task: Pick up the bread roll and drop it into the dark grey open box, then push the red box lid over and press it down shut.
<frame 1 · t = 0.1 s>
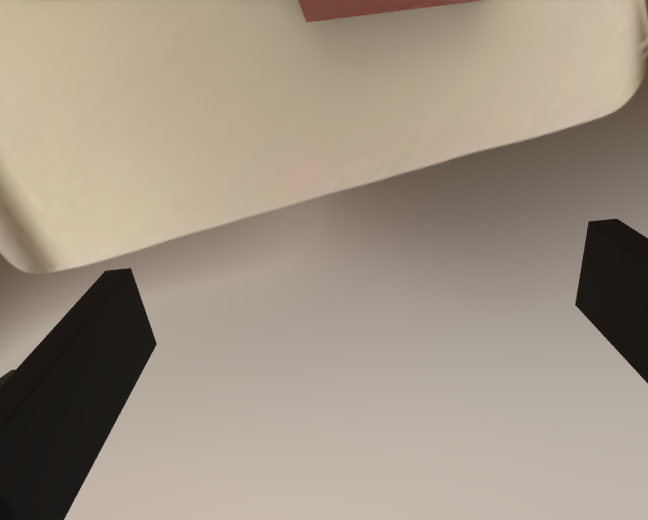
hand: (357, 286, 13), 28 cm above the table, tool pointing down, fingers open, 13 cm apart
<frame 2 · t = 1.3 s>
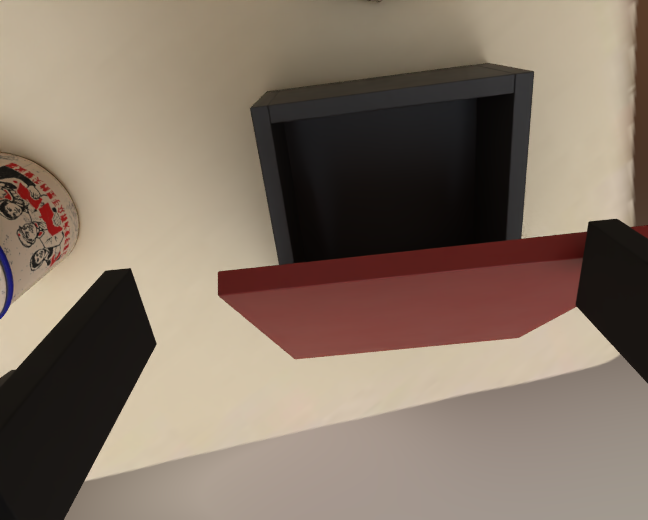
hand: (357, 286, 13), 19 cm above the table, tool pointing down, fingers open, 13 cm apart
teacup with lid: (8, 192, 32), on the table
dark grey open box: (383, 191, 32), on the table
red box lid: (417, 315, 21), point 13 cm above the table, hinge at 44.0°, touching gripper
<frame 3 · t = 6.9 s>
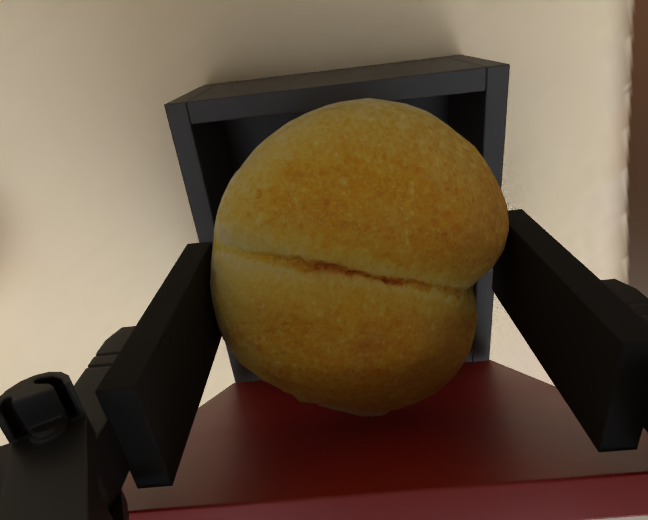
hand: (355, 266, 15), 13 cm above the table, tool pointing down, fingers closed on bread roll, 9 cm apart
dark grey open box: (343, 201, 28), on the table
red box lid: (367, 414, 17), point 14 cm above the table, hinge at 57.5°
bread roll: (354, 256, 15), point 13 cm above the table, touching gripper
when the fingers open (13 cm above the table, at t = 7.0 s): bread roll drops 11 cm, resting on dark grey open box.
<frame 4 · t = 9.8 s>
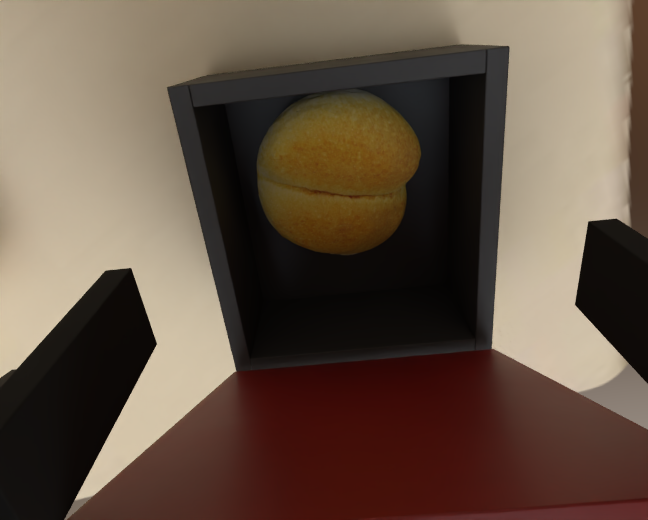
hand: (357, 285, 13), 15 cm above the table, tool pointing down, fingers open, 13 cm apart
dark grey open box: (344, 192, 28), on the table
red box lid: (370, 412, 16), point 14 cm above the table, hinge at 62.4°
bread roll: (338, 167, 25), point 2 cm above the table, touching dark grey open box
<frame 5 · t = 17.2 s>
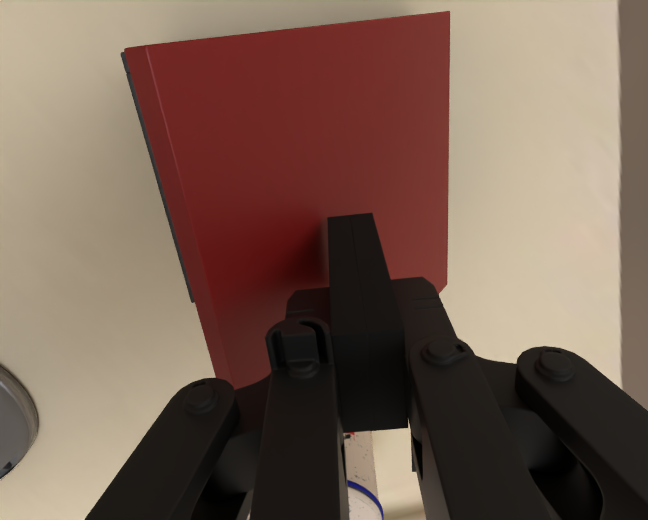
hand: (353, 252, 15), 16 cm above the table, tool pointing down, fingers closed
teacup with lid: (308, 432, 42), on the table
dark grey open box: (302, 148, 30), on the table
red box lid: (360, 221, 18), point 14 cm above the table, hinge at 54.2°, touching gripper
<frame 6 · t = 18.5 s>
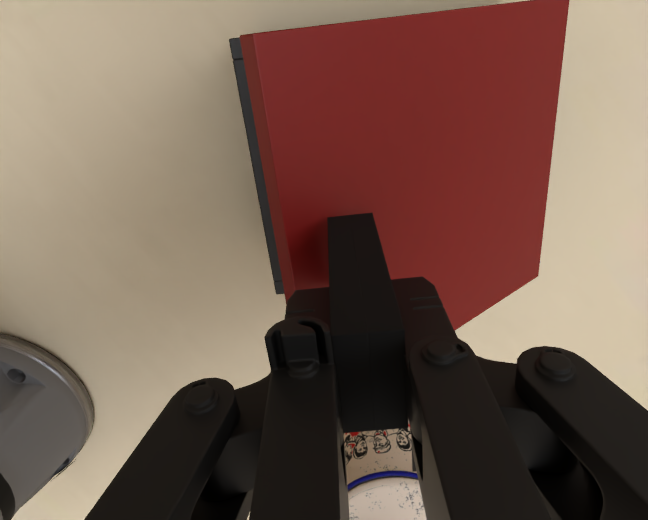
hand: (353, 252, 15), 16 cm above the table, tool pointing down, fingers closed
teacup with lid: (363, 427, 42), on the table
dark grey open box: (381, 139, 30), on the table
red box lid: (440, 197, 19), point 12 cm above the table, hinge at 36.9°
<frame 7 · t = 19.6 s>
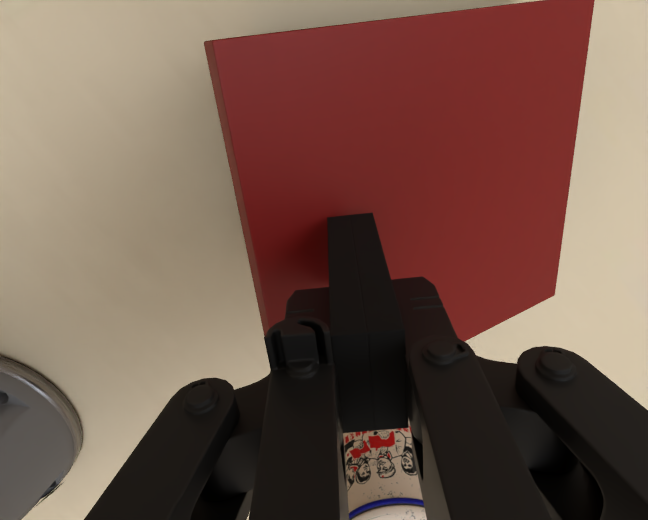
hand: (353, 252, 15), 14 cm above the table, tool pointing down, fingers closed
teacup with lid: (365, 446, 40), on the table
red box lid: (436, 209, 18), point 11 cm above the table, hinge at 29.2°, touching gripper
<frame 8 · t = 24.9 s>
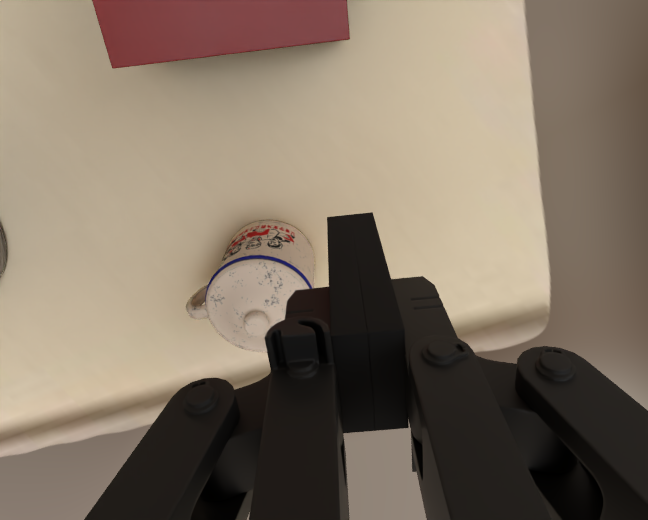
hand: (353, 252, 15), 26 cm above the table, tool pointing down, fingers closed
teacup with lid: (257, 262, 45), on the table
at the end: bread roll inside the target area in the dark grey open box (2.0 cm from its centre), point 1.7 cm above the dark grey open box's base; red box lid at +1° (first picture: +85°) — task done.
